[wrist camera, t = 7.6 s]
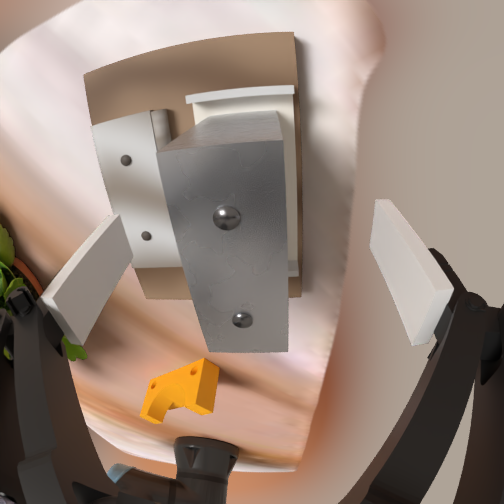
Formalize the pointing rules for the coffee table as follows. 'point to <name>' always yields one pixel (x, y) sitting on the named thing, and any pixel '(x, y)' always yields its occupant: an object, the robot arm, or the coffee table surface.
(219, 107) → the leaf seat
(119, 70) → the hinge board
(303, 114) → the coffee table surface
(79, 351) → the potted flower
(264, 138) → the leaf block
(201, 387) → the pipe clamp
